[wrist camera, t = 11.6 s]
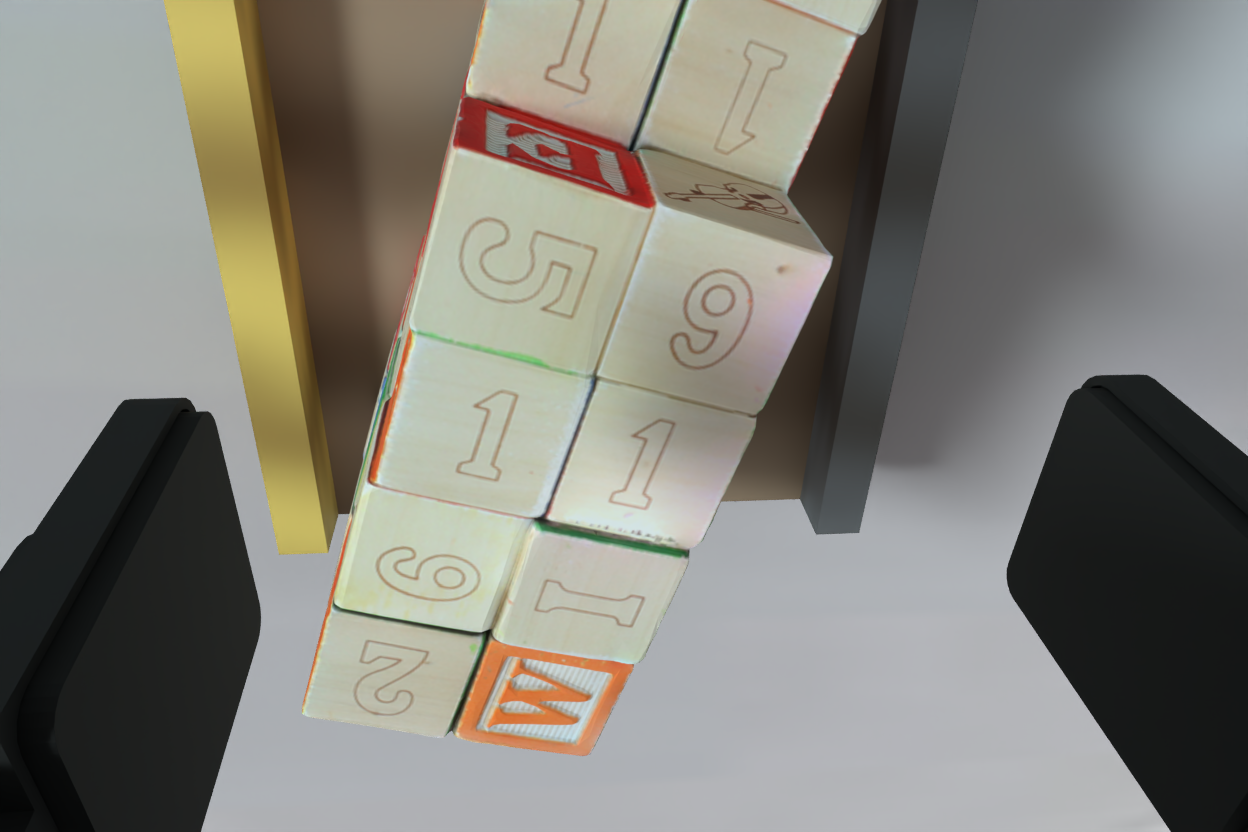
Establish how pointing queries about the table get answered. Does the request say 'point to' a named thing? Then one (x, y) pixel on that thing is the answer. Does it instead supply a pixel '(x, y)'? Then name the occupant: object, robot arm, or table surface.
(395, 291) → the dock
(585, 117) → the stack of blocks
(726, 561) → the table surface
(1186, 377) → the table surface
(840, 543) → the table surface
